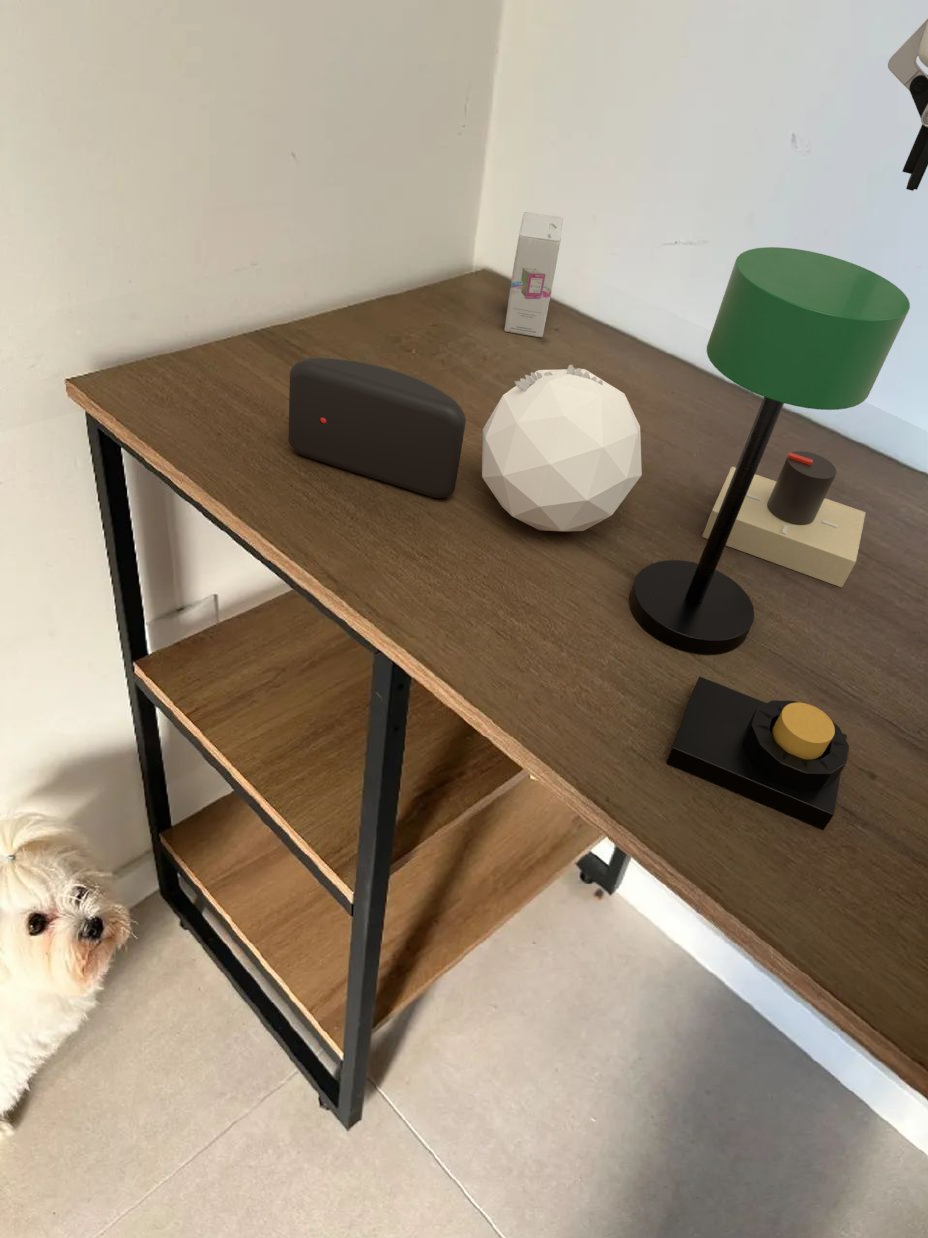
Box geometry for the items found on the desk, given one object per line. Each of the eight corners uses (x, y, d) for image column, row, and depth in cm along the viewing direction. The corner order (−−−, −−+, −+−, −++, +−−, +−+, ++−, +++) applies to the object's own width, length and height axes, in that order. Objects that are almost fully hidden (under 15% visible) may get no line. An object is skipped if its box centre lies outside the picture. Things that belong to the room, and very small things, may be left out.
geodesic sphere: (455, 509, 73) (592, 379, 67) (421, 414, 83) (538, 295, 78) (572, 592, 82) (701, 483, 76) (529, 498, 92) (640, 396, 87)
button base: (837, 750, 67) (858, 718, 65) (823, 830, 62) (845, 798, 59) (692, 691, 70) (706, 658, 68) (665, 763, 64) (680, 730, 62)
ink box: (506, 303, 119) (523, 208, 111) (545, 310, 119) (564, 215, 111) (501, 331, 112) (519, 232, 105) (542, 338, 112) (563, 240, 105)
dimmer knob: (817, 507, 86) (841, 458, 83) (811, 530, 83) (835, 481, 80) (771, 491, 87) (792, 442, 84) (763, 513, 84) (784, 464, 81)
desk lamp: (764, 600, 80) (915, 279, 61) (740, 678, 72) (904, 337, 53) (643, 555, 82) (753, 233, 64) (606, 625, 74) (719, 281, 56)
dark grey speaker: (465, 482, 87) (481, 391, 80) (448, 507, 83) (463, 414, 77) (306, 432, 89) (310, 340, 83) (284, 455, 86) (286, 360, 79)
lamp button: (827, 732, 64) (838, 715, 63) (821, 767, 62) (831, 750, 60) (776, 712, 65) (786, 694, 64) (768, 746, 62) (777, 728, 61)
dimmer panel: (852, 537, 89) (866, 510, 87) (842, 588, 83) (857, 560, 81) (721, 491, 92) (732, 464, 90) (701, 536, 85) (712, 508, 83)
